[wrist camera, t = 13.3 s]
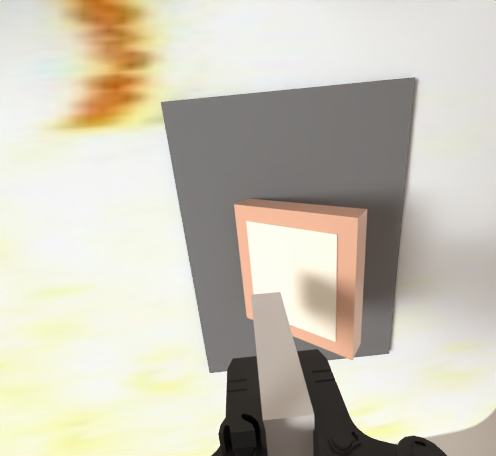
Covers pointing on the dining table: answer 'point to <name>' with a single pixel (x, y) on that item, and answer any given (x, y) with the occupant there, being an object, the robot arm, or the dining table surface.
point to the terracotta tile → (307, 267)
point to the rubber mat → (289, 190)
